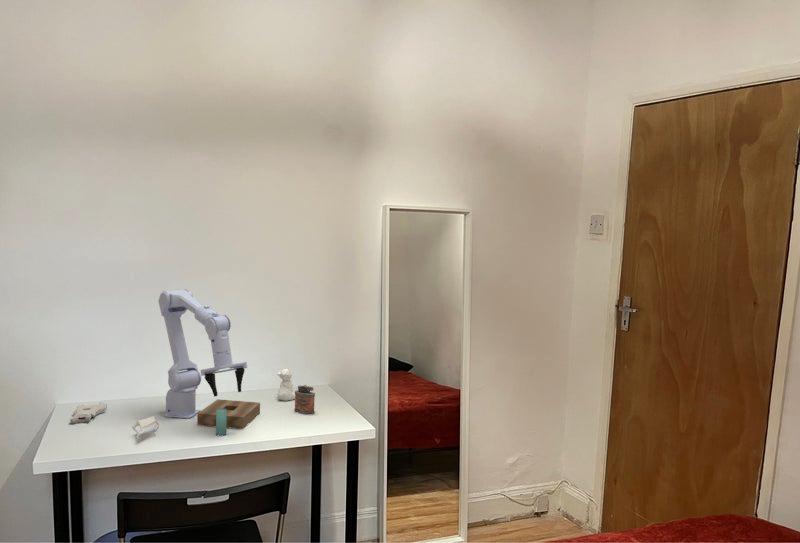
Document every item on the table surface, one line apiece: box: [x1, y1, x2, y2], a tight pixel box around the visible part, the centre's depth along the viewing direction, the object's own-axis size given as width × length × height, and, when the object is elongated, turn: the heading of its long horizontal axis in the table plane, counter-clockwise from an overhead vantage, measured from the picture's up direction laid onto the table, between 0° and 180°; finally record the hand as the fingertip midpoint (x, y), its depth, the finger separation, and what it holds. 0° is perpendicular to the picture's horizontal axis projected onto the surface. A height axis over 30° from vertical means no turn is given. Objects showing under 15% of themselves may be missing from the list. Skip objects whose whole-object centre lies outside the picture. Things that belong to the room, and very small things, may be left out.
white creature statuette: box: [276, 368, 295, 402], centre depth 233 cm, size 10×9×12 cm
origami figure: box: [131, 415, 160, 443], centre depth 189 cm, size 12×8×5 cm
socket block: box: [196, 399, 261, 429], centre depth 208 cm, size 16×16×4 cm
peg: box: [215, 409, 227, 437], centre depth 193 cm, size 3×3×8 cm
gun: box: [69, 402, 108, 424], centre depth 206 cm, size 18×4×10 cm
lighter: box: [293, 384, 316, 415], centre depth 218 cm, size 8×3×10 cm, turn 68°
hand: (227, 394), depth 195 cm, fingers open, 7 cm apart
